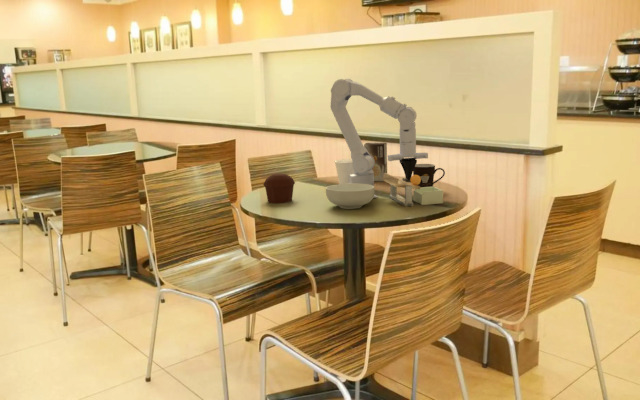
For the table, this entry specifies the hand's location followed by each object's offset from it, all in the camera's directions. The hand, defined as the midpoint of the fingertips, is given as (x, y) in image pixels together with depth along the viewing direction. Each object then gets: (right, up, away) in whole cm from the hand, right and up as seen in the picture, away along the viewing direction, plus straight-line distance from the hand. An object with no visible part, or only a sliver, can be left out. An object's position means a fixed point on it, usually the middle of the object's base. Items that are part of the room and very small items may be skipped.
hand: (408, 179), depth 211 cm
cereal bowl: (-21, -10, -9) cm, 25 cm away
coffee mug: (+9, -4, +14) cm, 17 cm away
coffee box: (-8, +1, +42) cm, 43 cm away
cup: (-21, -3, +27) cm, 34 cm away
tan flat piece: (-3, -2, -4) cm, 6 cm away
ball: (+1, 0, -8) cm, 8 cm away
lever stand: (-3, -8, -3) cm, 9 cm away
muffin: (-47, -8, +5) cm, 48 cm away
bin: (+6, -8, -5) cm, 11 cm away
